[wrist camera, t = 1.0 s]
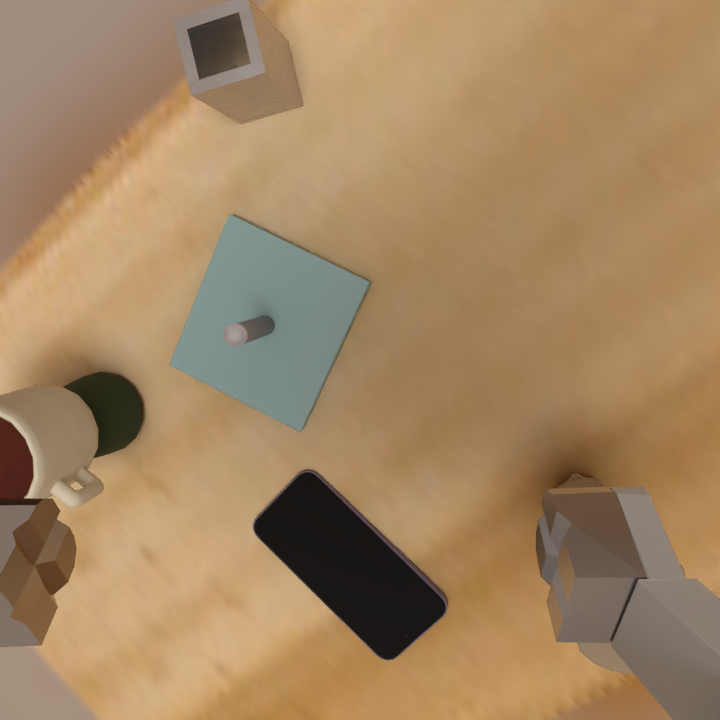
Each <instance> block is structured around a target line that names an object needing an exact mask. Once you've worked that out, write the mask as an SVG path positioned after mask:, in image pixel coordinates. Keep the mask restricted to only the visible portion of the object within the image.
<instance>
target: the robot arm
mask: <svg viewBox="0 0 720 720" xmlns="http://www.w3.org/2000/svg"><path fill="white" fill-rule="evenodd" d="M542 506H543V510H544V514H545V515H544V516H543V517H542V518H540V519H539V520H538V525H537V531H536V552H537V559H538V565H539V570H540V574H541V577H542V578H543V579H544V580H545V581H546V582H547V583H548V584H549V585H550V586H551V588H550V592H549V596H548V600H547V605H548V609H549V613H550V618H551V622H552V626H553V630H554V634H555V639H556V642H581V643H612V644H611V647H612V648H613V649H614V650H615V652H616V653H617V654H618V655H619V656H620V658H621V659H622V660H623V661H624V662H625V663H626V665H627V666H628V667H629V668H630V669H631V671H632V672H633V673H634V674H635V675H636V677H637V678H638V679H639V680H640V681H641V683H642V684H643V685H644V686H645V687H646V688H647V690H648V691H649V692H650V693H651V694H652V696H653V697H654V698H655V699H656V700H657V702H658V703H659V704H660V705H661V706H662V708H664V710H665V711H666V712H667V713H668V715H669V716H670V717H671V718H672V719H673V720H720V598H718V597H717V596H716V595H715V594H714V593H712V592H711V591H710V590H709V589H708V588H706V587H705V586H704V585H703V584H702V583H701V582H699V581H698V580H697V579H690V578H686V577H685V575H684V573H683V571H682V568H681V566H680V564H679V561H678V559H677V557H676V554H675V552H674V550H673V548H672V545H671V543H670V541H669V538H668V536H667V534H666V531H665V529H664V527H663V524H662V522H661V520H660V518H659V515H658V513H657V511H656V508H655V506H654V504H653V501H652V499H651V497H650V495H649V492H648V491H647V490H646V489H645V488H644V487H612V488H609V487H585V488H553V489H547V490H546V491H545V493H544V496H543V500H542ZM59 512H60V510H59V508H58V507H57V505H56V504H55V502H54V500H53V499H39V498H0V647H10V646H39V645H42V643H43V641H44V638H45V636H46V633H47V631H48V629H49V626H50V624H51V622H52V619H53V617H54V614H55V612H56V610H57V607H58V606H57V603H56V600H55V597H54V594H55V593H56V592H57V591H58V590H60V589H61V588H62V587H63V586H64V585H65V584H66V583H68V581H69V578H70V576H71V573H72V571H73V568H74V564H75V556H76V543H75V538H74V535H73V533H72V531H71V529H70V528H69V527H68V526H66V525H65V524H63V523H61V522H60V521H58V520H57V517H58V515H59Z"/></svg>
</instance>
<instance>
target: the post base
mask: <svg viewBox="0 0 720 720" xmlns="http://www.w3.org/2000/svg"><path fill="white" fill-rule="evenodd" d="M370 284H371V281H369V280H367V279H365V278H363V277H361V276H359V275H357V274H355V273H353V272H351V271H349V270H346V269H344V268H342V267H340V266H338V265H336V264H334V263H332V262H330V261H328V260H326V259H324V258H322V257H320V256H318V255H316V254H313V253H311V252H309V251H307V250H305V249H303V248H301V247H299V246H297V245H295V244H293V243H291V242H289V241H287V240H285V239H283V238H281V237H278V236H276V235H274V234H272V233H270V232H268V231H266V230H264V229H262V228H260V227H258V226H256V225H254V224H252V223H250V222H248V221H245V220H243V219H241V218H239V217H237V216H235V215H230V214H229V217H228V219H227V222H226V224H225V227H224V229H223V232H222V234H221V237H220V239H219V242H218V244H217V247H216V249H215V252H214V254H213V257H212V259H211V262H210V264H209V267H208V269H207V272H206V274H205V277H204V279H203V282H202V284H201V287H200V289H199V292H198V294H197V297H196V299H195V302H194V304H193V307H192V309H191V312H190V314H189V317H188V319H187V322H186V324H185V327H184V329H183V332H182V334H181V337H180V340H179V342H178V345H177V347H176V350H175V352H174V355H173V357H172V360H171V362H170V365H171V366H173V367H175V368H177V369H178V370H180V371H182V372H184V373H186V374H188V375H190V376H192V377H194V378H196V379H198V380H200V381H202V382H204V383H206V384H208V385H210V386H212V387H213V388H215V389H217V390H219V391H221V392H223V393H225V394H227V395H229V396H231V397H233V398H235V399H237V400H239V401H241V402H243V403H245V404H247V405H248V406H250V407H252V408H254V409H256V410H258V411H260V412H262V413H264V414H266V415H268V416H270V417H272V418H274V419H276V420H278V421H280V422H282V423H283V424H285V425H287V426H289V427H291V428H293V429H295V430H297V431H299V432H301V431H302V430H303V429H304V427H305V424H306V422H307V420H308V418H309V416H310V414H311V412H312V409H313V407H314V405H315V403H316V401H317V399H318V396H319V394H320V392H321V390H322V388H323V386H324V384H325V381H326V379H327V377H328V375H329V373H330V371H331V368H332V366H333V364H334V362H335V360H336V358H337V356H338V353H339V351H340V349H341V347H342V345H343V343H344V340H345V338H346V336H347V334H348V332H349V330H350V328H351V325H352V323H353V321H354V319H355V317H356V315H357V312H358V310H359V308H360V306H361V304H362V302H363V299H364V297H365V295H366V293H367V291H368V289H369V287H370Z"/></svg>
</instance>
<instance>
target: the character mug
mask: <svg viewBox="0 0 720 720" xmlns="http://www.w3.org/2000/svg"><path fill="white" fill-rule="evenodd" d="M140 425H141V403H140V401H139V399H138V397H137V395H136V393H135V391H134V389H133V387H132V386H131V385H129V384H128V383H127V382H126V381H124V380H123V379H122V378H120V377H119V376H117V375H112V374H107V373H103V372H99V373H95V374H91V375H88V376H84V377H82V378H80V379H78V380H76V381H74V382H72V383H70V384H68V385H66V386H65V387H61V386H50V385H34V386H31V387H27V388H24V389H21V390H17V391H14V392H11V393H7V394H4V395H0V498H39V499H47V498H49V497H50V496H52V495H54V496H55V497H56V498H57V499H59V500H60V501H61V502H62V503H64V504H65V505H66V506H68V507H70V508H72V509H73V508H77V507H80V506H81V505H83V504H85V503H86V502H88V501H89V500H91V499H92V498H94V497H96V496H97V495H99V494H100V493H102V491H103V489H104V484H103V483H102V481H101V480H100V479H99V478H97V477H96V476H95V475H94V474H92V473H91V472H90V471H89V470H88V468H89V466H90V464H91V462H92V459H93V458H96V457H99V456H103V455H106V454H110V453H113V452H115V451H118V450H120V449H123V448H125V447H126V446H127V445H129V444H130V443H131V442H132V441H133V440H134V439H135V438H136V435H137V433H138V430H139V427H140ZM75 481H76V482H78V483H79V484H80V485H81V486H83V488H82V489H80V490H78V491H76V490H74V489H73V488H72V487H70V486H69V485H71V484H72V483H74V482H75Z"/></svg>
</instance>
